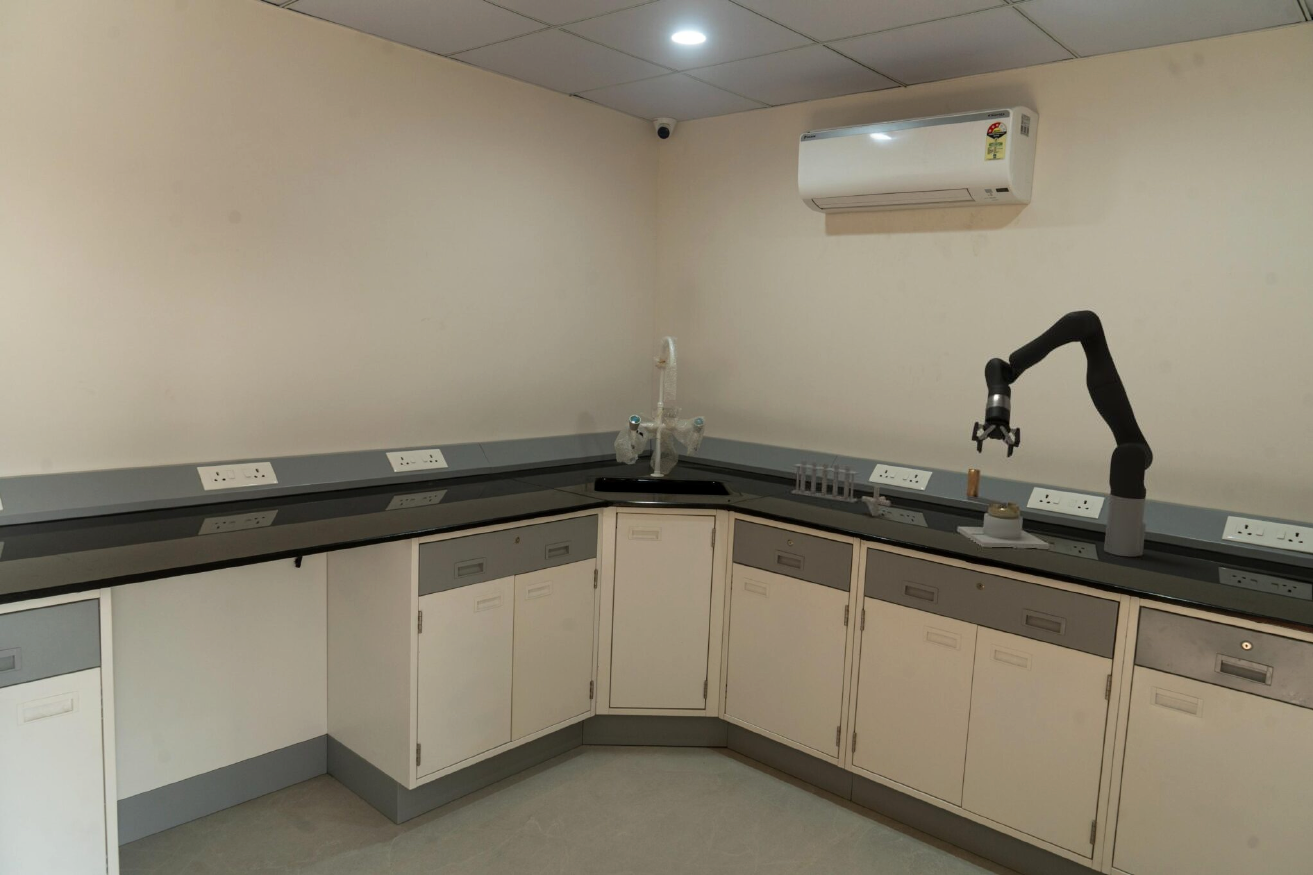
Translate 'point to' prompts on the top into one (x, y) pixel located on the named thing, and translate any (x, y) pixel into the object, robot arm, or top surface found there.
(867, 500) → the pipe connector
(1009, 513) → the lever-handled chuck
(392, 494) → the top surface
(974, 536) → the cylinder on square plate
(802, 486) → the test tube rack
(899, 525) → the top surface
